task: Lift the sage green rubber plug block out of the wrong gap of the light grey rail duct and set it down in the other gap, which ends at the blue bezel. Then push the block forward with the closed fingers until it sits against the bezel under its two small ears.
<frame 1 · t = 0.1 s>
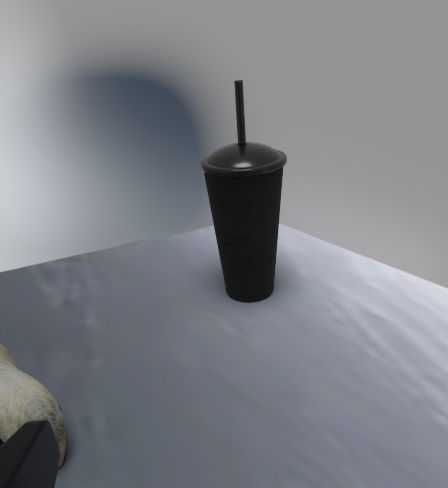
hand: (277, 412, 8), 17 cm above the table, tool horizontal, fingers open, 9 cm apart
drinking cup: (249, 290, 43), on the table
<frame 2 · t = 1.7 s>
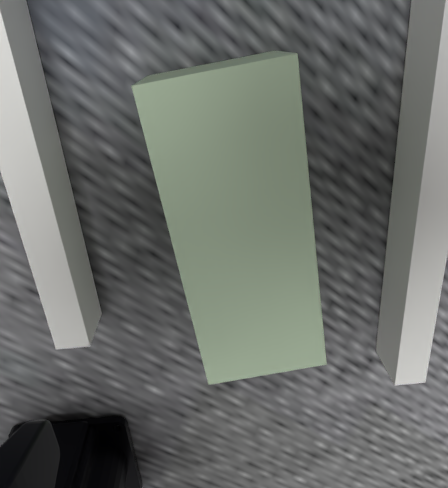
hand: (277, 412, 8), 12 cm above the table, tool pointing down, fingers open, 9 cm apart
plug block: (235, 204, 19), on the table
rail duct: (408, 191, 19), on the table
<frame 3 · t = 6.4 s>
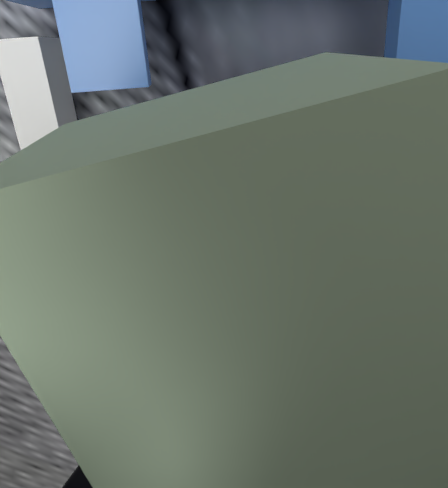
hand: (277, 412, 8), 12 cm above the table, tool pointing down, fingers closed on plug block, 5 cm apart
plug block: (260, 339, 10), point 10 cm above the table, touching gripper
rail duct: (88, 253, 20), on the table
when the fingers open (4 cm above the table, at t = 8.8 s): plug block drops 2 cm, on the table.
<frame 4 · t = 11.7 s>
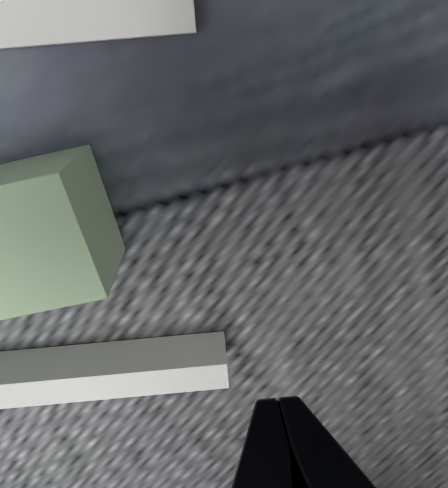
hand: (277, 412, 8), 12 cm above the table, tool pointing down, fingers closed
rail duct: (55, 358, 22), on the table
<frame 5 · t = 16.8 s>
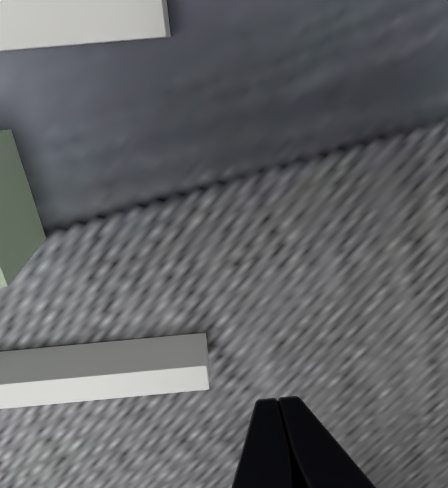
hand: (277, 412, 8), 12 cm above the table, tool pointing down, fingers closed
rail duct: (38, 359, 22), on the table
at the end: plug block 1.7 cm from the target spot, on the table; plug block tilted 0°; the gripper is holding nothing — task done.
